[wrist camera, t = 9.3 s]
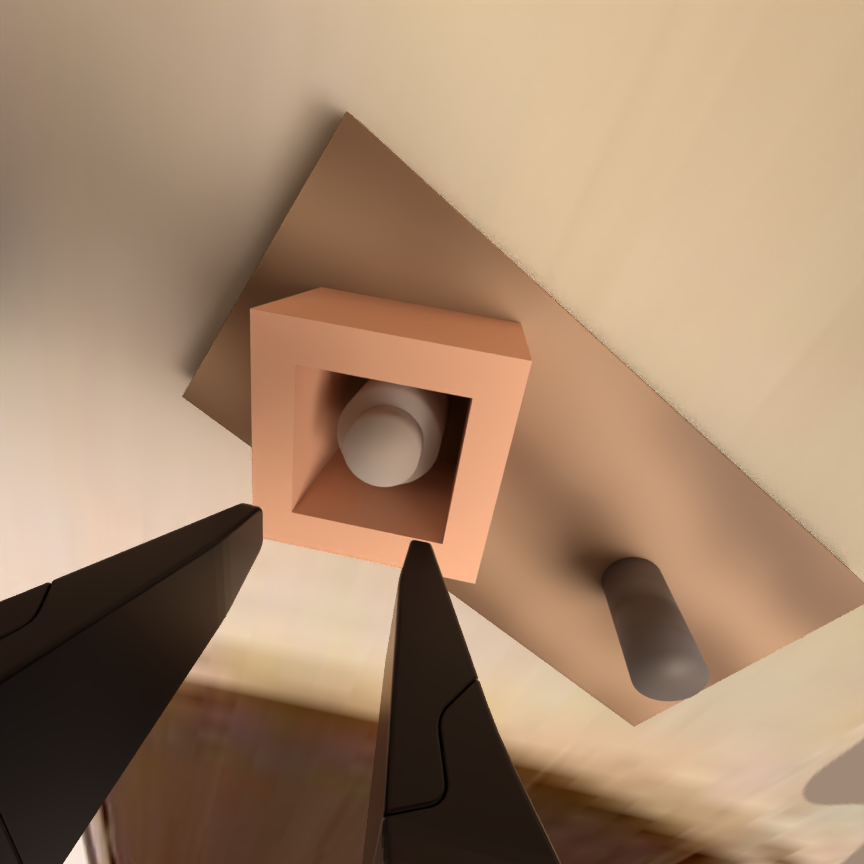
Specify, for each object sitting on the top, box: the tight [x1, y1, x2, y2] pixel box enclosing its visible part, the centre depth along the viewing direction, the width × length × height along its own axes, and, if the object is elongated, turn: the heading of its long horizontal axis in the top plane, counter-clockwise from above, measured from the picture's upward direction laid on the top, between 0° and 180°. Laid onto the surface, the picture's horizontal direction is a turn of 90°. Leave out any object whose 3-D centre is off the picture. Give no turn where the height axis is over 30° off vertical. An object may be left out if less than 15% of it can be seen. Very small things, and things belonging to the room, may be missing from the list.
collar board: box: [182, 112, 864, 726], centre depth 16 cm, size 12×26×6 cm, turn 51°
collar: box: [250, 287, 532, 584], centre depth 15 cm, size 7×7×5 cm
